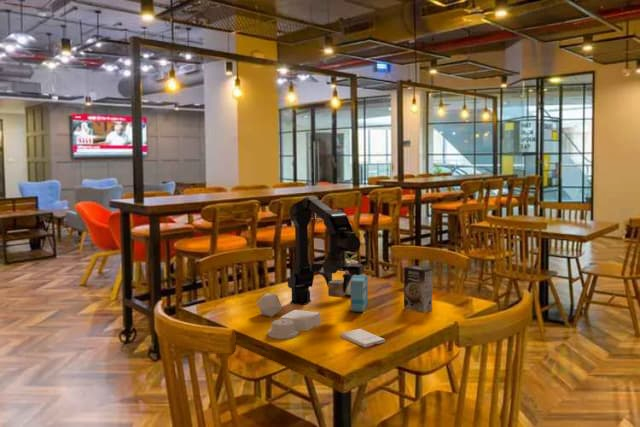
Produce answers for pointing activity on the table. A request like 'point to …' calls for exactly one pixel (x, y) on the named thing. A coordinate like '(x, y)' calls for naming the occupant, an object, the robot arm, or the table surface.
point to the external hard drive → (362, 337)
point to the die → (269, 304)
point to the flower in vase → (353, 275)
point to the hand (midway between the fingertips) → (337, 291)
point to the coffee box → (418, 288)
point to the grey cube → (336, 288)
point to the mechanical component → (283, 329)
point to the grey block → (303, 319)
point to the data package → (359, 293)
